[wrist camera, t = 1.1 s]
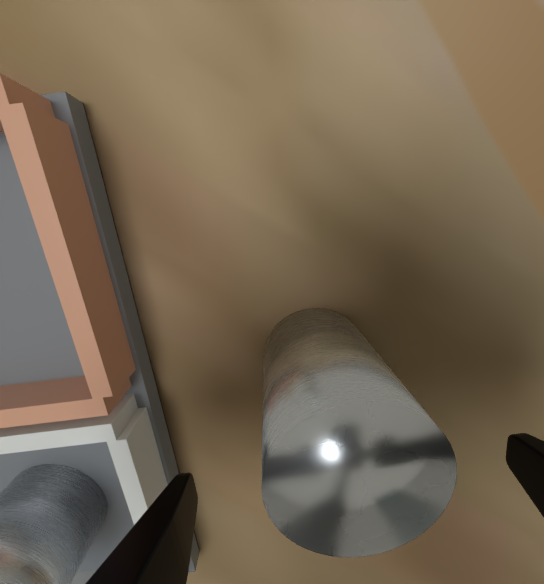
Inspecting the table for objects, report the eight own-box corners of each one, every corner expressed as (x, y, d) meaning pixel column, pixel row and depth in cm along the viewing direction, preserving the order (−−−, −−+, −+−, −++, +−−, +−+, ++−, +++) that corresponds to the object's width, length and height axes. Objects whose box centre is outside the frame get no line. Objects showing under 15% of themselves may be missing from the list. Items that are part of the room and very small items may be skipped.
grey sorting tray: (199, 551, 17) (185, 619, 14) (4, 573, 17) (-49, 646, 14) (82, 102, 11) (17, 61, 8) (-220, 142, 11) (-391, 116, 8)
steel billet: (366, 394, 15) (452, 546, 8) (270, 405, 15) (274, 566, 8) (362, 302, 13) (461, 389, 7) (256, 315, 13) (248, 415, 7)
